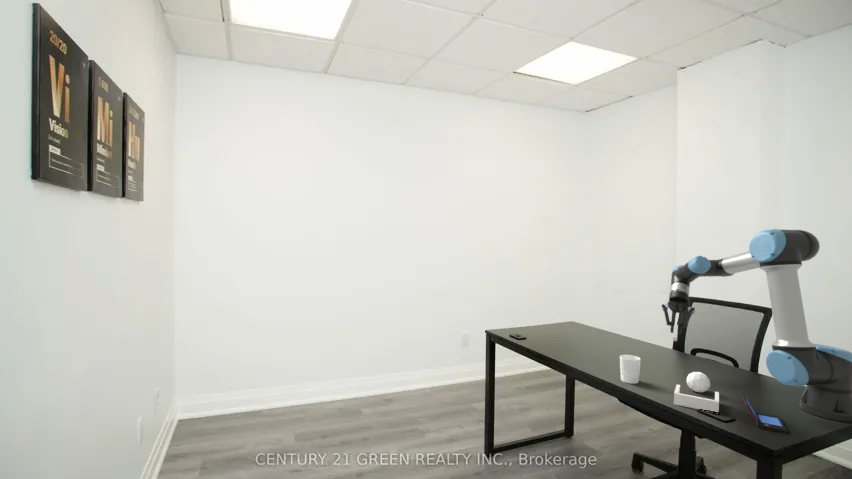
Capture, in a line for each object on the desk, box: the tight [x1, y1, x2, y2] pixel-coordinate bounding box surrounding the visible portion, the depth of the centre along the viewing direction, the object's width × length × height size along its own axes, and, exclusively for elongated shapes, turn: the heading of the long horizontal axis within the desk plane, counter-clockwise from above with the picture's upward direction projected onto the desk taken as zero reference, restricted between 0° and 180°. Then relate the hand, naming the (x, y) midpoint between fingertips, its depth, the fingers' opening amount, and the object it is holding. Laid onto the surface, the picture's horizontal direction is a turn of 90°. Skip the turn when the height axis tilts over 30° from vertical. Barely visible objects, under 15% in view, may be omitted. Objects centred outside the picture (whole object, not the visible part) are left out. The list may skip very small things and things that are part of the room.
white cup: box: [619, 354, 642, 385], centre depth 176 cm, size 8×8×10 cm
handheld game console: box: [741, 392, 788, 434], centre depth 139 cm, size 12×11×7 cm
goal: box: [673, 384, 720, 412], centre depth 153 cm, size 11×13×4 cm
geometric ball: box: [686, 371, 711, 393], centre depth 165 cm, size 8×8×8 cm
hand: (674, 339), depth 178 cm, fingers closed
